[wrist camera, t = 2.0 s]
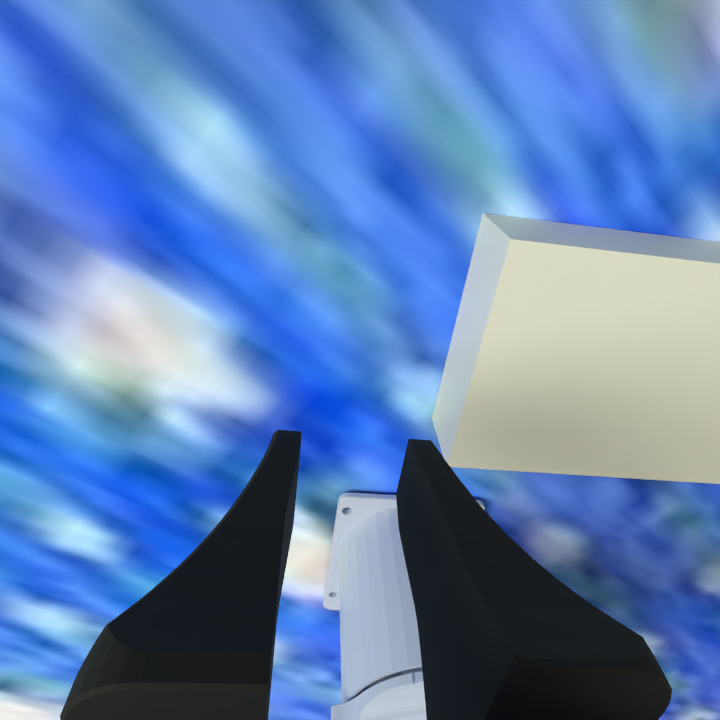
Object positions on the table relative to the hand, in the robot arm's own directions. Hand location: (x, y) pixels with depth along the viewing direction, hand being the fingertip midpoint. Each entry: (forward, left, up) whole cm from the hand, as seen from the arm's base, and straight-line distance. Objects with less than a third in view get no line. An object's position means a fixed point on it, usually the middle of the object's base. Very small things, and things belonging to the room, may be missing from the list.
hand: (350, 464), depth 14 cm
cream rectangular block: (0, -12, -9) cm, 15 cm away
